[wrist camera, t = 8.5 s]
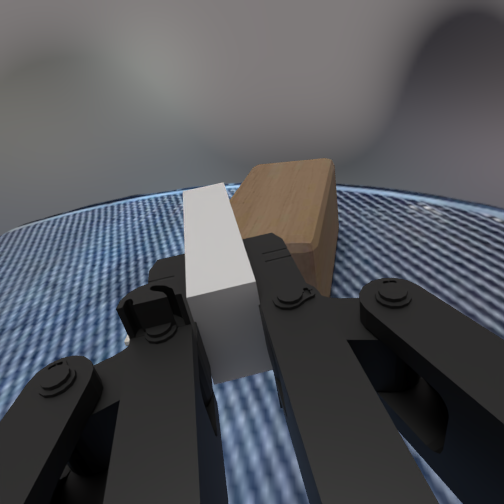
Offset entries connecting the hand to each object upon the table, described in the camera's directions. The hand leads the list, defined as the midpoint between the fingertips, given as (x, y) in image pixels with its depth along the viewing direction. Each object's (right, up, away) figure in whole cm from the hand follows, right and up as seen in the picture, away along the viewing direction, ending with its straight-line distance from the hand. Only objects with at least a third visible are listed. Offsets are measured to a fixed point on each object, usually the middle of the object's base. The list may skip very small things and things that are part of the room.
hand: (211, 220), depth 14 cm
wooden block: (+2, -5, +17) cm, 18 cm away
